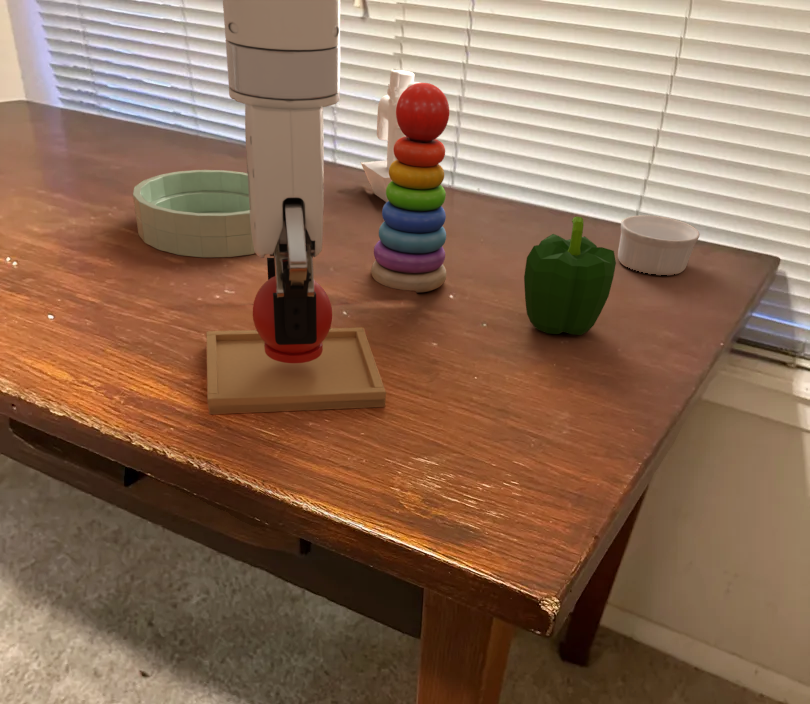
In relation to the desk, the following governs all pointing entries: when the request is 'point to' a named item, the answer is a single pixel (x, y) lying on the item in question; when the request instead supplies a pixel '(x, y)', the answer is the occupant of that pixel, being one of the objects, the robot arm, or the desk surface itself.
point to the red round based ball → (266, 329)
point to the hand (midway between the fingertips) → (292, 321)
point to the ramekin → (656, 244)
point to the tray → (291, 375)
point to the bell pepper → (567, 282)
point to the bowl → (195, 213)
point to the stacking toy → (415, 196)
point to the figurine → (388, 131)
